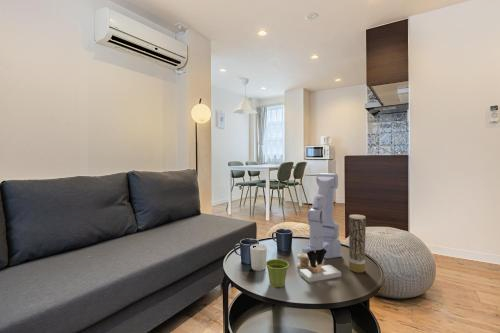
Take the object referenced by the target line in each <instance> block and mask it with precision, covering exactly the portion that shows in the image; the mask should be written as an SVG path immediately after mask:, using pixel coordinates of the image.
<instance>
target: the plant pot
mask: <svg viewBox="0 0 500 333" xmlns="http://www.w3.org/2000/svg"><path fill="white" fill-rule="evenodd" d="M289 266H290V264H289V262H288V261H286V260H284V259H281V258H280V259H278V258H271V259H269V260H266V269H267V273H268V274H267V275H268V281H269V285H270V287H273V288H282V287H284V286H285V283H286V278H287V277H286V276H287V272H288V271H287V270H288V268H289Z"/></svg>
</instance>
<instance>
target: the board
mask: <svg viewBox="0 0 500 333" xmlns="http://www.w3.org/2000/svg"><path fill="white" fill-rule="evenodd" d="M299 275H300V276H301V277H302V278H303V279H305V281H307V282H308V283H312V282H313V283H314V282H318V281H323V280H330V279H334V278H336V279H337V278H341V277H342V272H341V271H340V270H339V269H337V268H336V267H334V266H333V265H331V264H326V265H321V273H315V274H313V273H311V272H310V269H309V270H308V269H299Z"/></svg>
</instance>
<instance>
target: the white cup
mask: <svg viewBox="0 0 500 333" xmlns="http://www.w3.org/2000/svg"><path fill="white" fill-rule="evenodd" d="M253 246H256V247H254V248H253ZM249 249H250V250H249V251H250V264H251V265H250V266H251V269H252V270H253V271H257V272H260V271H265V270H266V269H267V266H266V262H267V258H268V257H267V256H268V255H267V253H268V251H267V250H268V246H267V245H266V244H261V243H256V244H251V245H250V247H249Z"/></svg>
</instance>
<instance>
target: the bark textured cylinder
mask: <svg viewBox="0 0 500 333" xmlns="http://www.w3.org/2000/svg"><path fill="white" fill-rule="evenodd" d="M366 220H367V219H366V216H365V215H363V214H349V222H348V223H349V228H348V229H349V232H348V233H349V235H348V237H349V238H348V260H349V261H348V268H349V271H352V272H353V273H359V274H361V273H364V272H365V270H366V222H367V221H366Z"/></svg>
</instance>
